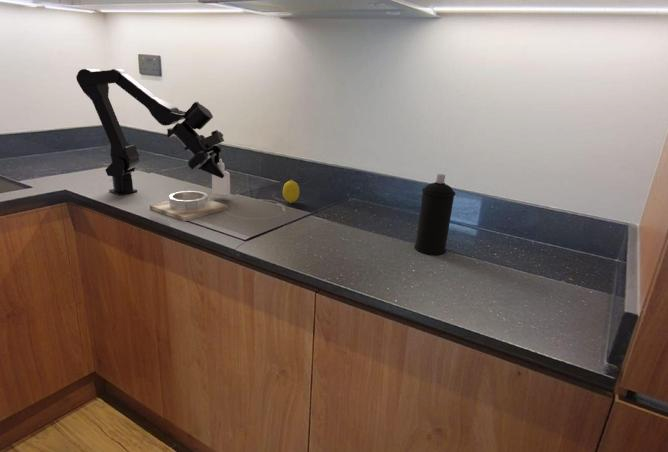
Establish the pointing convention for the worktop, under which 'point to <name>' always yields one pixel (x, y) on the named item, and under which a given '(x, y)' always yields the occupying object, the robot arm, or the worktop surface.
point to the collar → (188, 200)
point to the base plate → (188, 215)
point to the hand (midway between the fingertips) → (224, 175)
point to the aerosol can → (434, 217)
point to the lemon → (291, 191)
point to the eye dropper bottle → (221, 182)
